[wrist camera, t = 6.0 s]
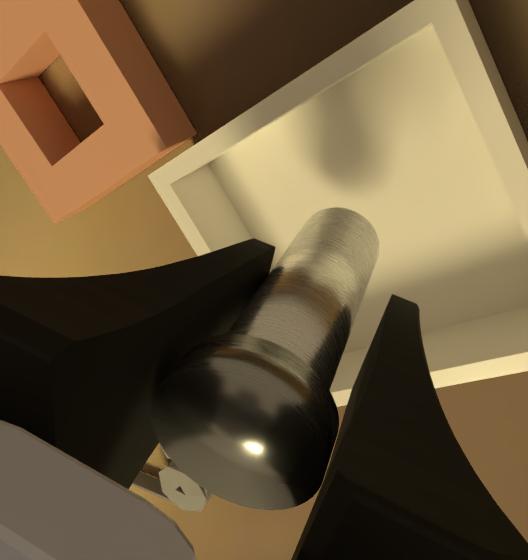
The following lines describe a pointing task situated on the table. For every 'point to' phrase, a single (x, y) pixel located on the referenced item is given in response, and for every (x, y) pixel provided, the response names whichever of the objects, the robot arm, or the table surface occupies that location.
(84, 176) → the block
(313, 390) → the pin
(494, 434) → the table surface
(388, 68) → the tray
